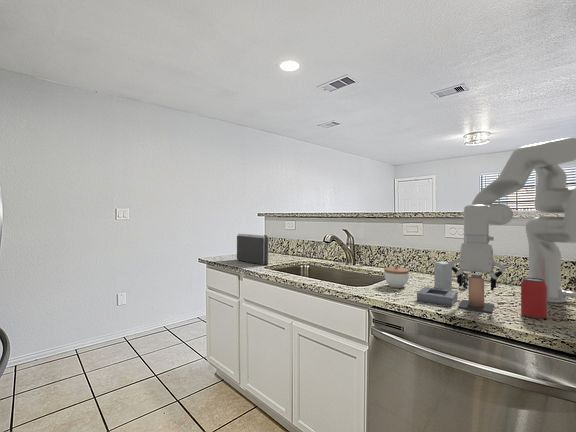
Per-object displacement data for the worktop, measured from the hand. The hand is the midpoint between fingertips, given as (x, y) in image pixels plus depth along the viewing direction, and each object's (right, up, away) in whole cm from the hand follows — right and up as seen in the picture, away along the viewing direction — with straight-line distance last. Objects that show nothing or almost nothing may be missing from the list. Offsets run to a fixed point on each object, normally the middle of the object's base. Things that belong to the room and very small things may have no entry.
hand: (476, 287), depth 109 cm
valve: (+7, -7, +30) cm, 32 cm away
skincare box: (0, -7, +23) cm, 24 cm away
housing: (-9, -7, +10) cm, 15 cm away
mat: (0, -7, 0) cm, 7 cm away
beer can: (+13, -7, -10) cm, 18 cm away
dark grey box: (-86, -7, +107) cm, 137 cm away
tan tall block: (0, -6, 0) cm, 6 cm away
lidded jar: (-17, -7, +32) cm, 37 cm away
